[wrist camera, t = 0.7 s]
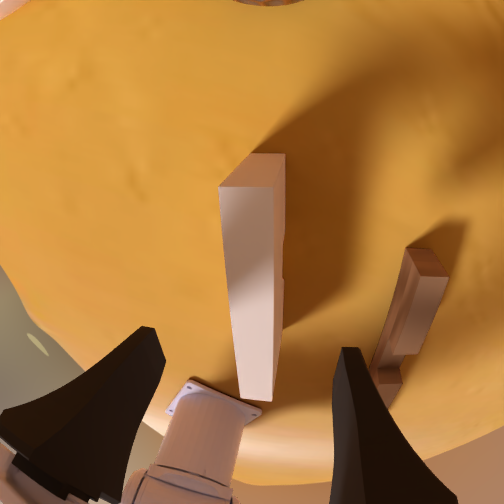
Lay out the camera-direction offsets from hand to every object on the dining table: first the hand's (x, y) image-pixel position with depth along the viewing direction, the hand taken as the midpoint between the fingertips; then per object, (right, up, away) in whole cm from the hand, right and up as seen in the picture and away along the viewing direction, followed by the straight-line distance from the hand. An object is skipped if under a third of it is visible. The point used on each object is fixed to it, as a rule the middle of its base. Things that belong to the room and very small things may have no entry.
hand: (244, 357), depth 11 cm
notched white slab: (+1, +4, +7) cm, 8 cm away
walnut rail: (+11, -4, +10) cm, 15 cm away
